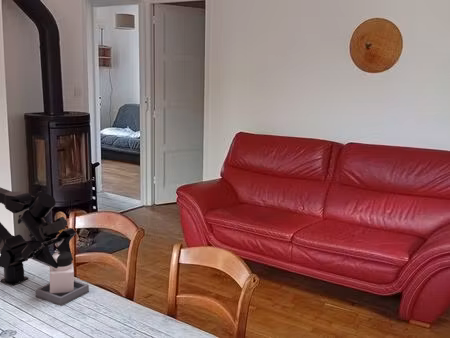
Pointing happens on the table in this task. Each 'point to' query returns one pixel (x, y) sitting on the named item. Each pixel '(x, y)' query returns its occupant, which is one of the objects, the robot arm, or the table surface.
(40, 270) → the table surface
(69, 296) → the charcoal tray
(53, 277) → the medicine bottle
